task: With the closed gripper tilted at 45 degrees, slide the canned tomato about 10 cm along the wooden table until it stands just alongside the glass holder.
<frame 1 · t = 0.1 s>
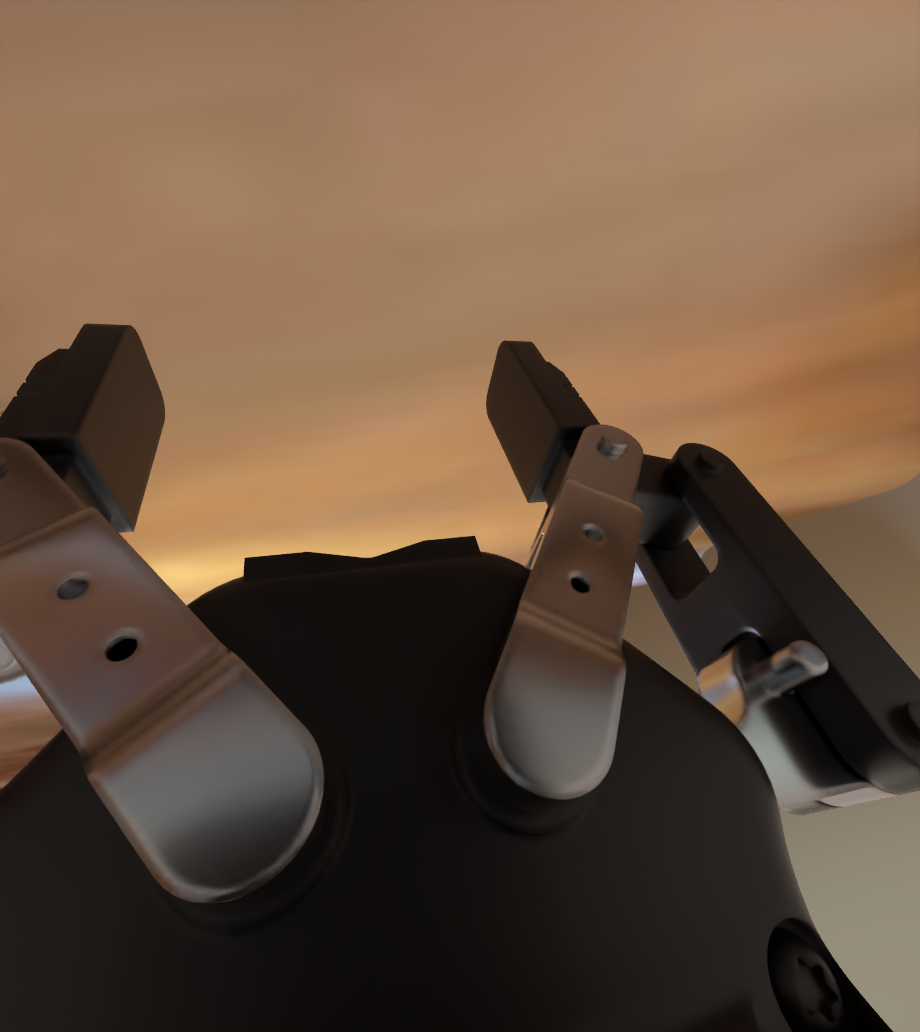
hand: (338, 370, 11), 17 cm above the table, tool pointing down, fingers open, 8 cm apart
canned tomato: (19, 512, 31), on the table
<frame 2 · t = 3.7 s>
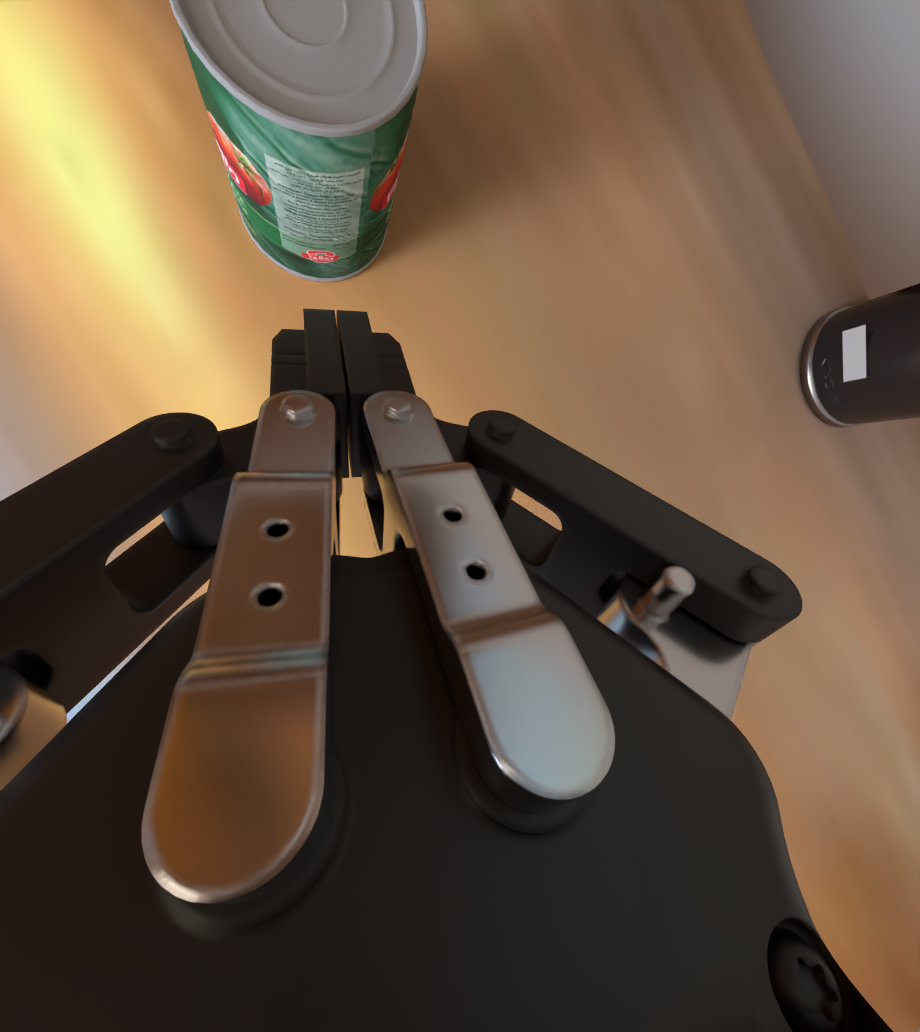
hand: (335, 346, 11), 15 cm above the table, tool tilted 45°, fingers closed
canned tomato: (315, 209, 24), on the table
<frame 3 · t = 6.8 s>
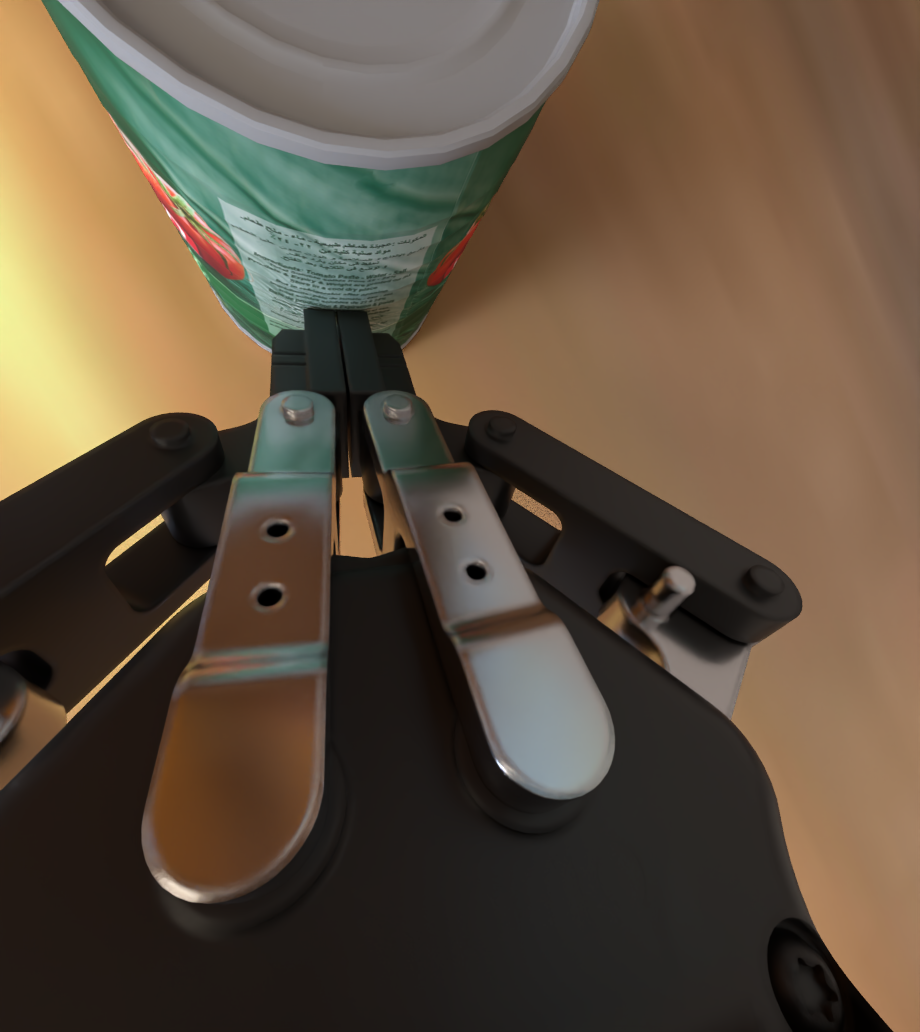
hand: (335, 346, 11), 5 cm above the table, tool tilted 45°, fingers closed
canned tomato: (325, 260, 16), on the table, touching gripper
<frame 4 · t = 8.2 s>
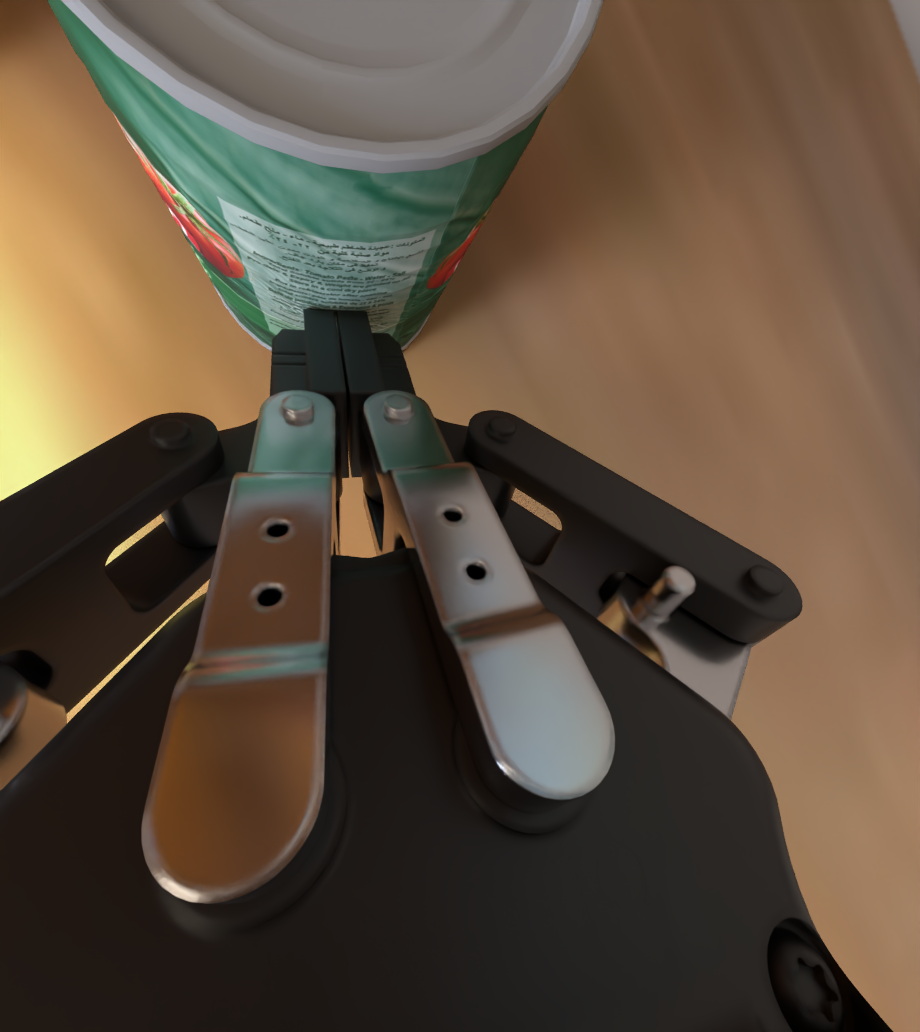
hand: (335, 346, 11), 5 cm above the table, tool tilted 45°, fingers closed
canned tomato: (328, 261, 16), on the table, touching gripper
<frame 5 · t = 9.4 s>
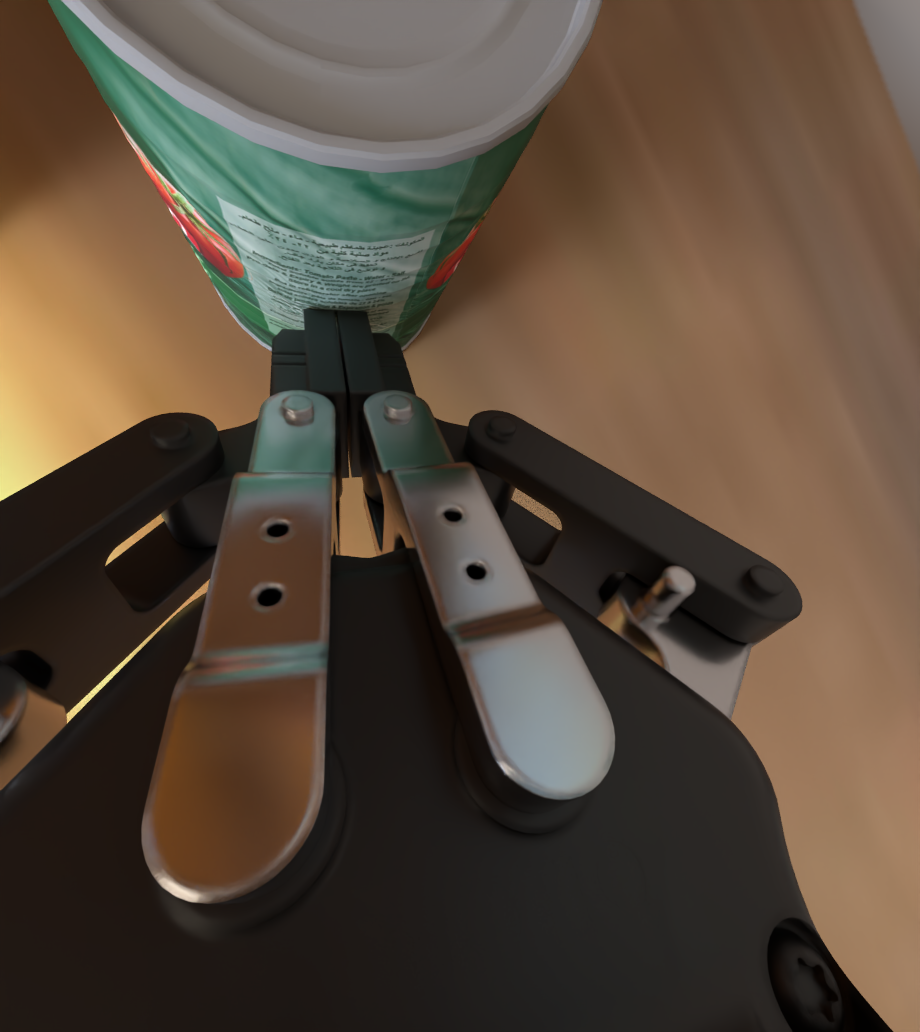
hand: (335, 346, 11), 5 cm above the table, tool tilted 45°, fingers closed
canned tomato: (328, 261, 16), on the table, touching gripper
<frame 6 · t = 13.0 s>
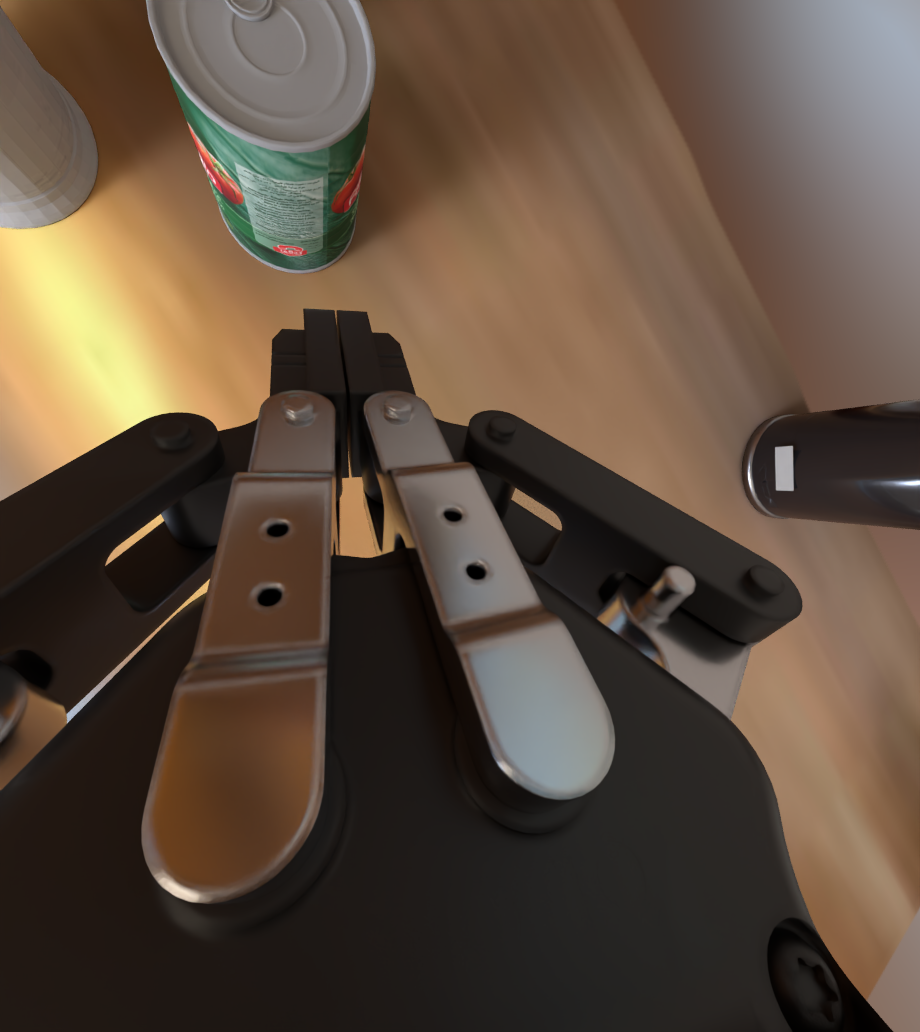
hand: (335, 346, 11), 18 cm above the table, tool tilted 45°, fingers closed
canned tomato: (289, 207, 27), on the table
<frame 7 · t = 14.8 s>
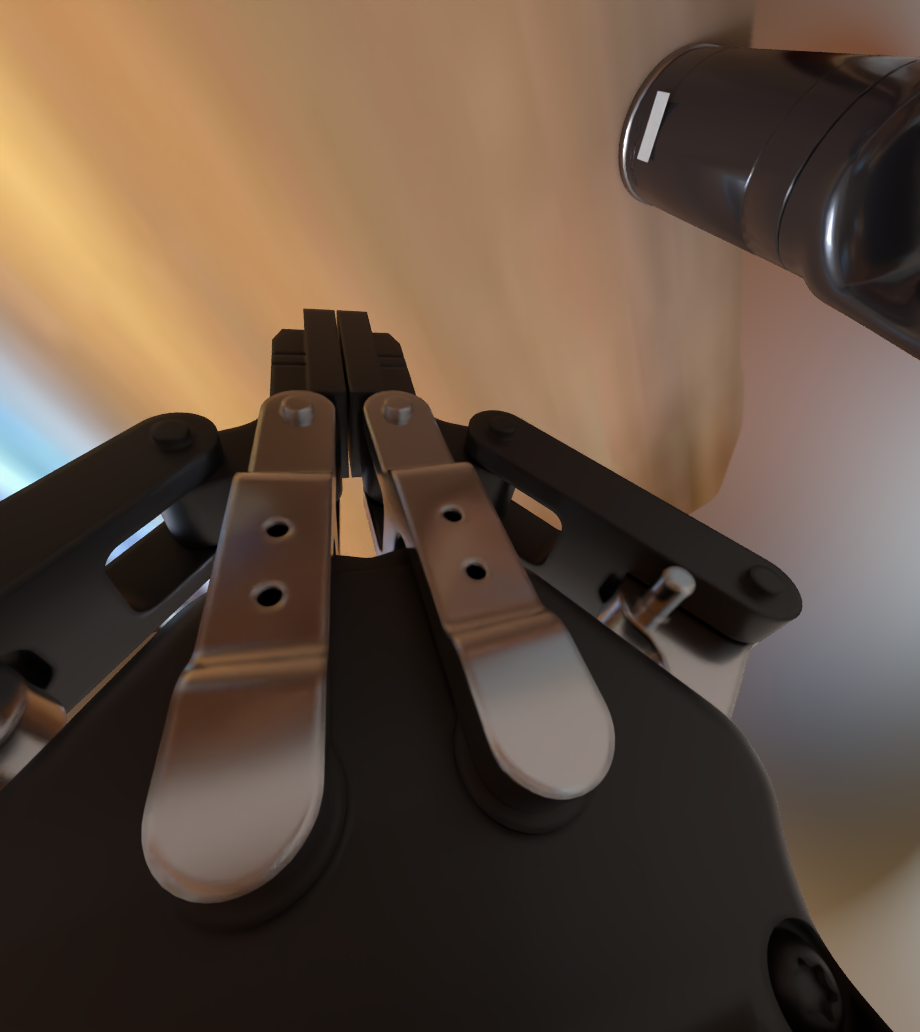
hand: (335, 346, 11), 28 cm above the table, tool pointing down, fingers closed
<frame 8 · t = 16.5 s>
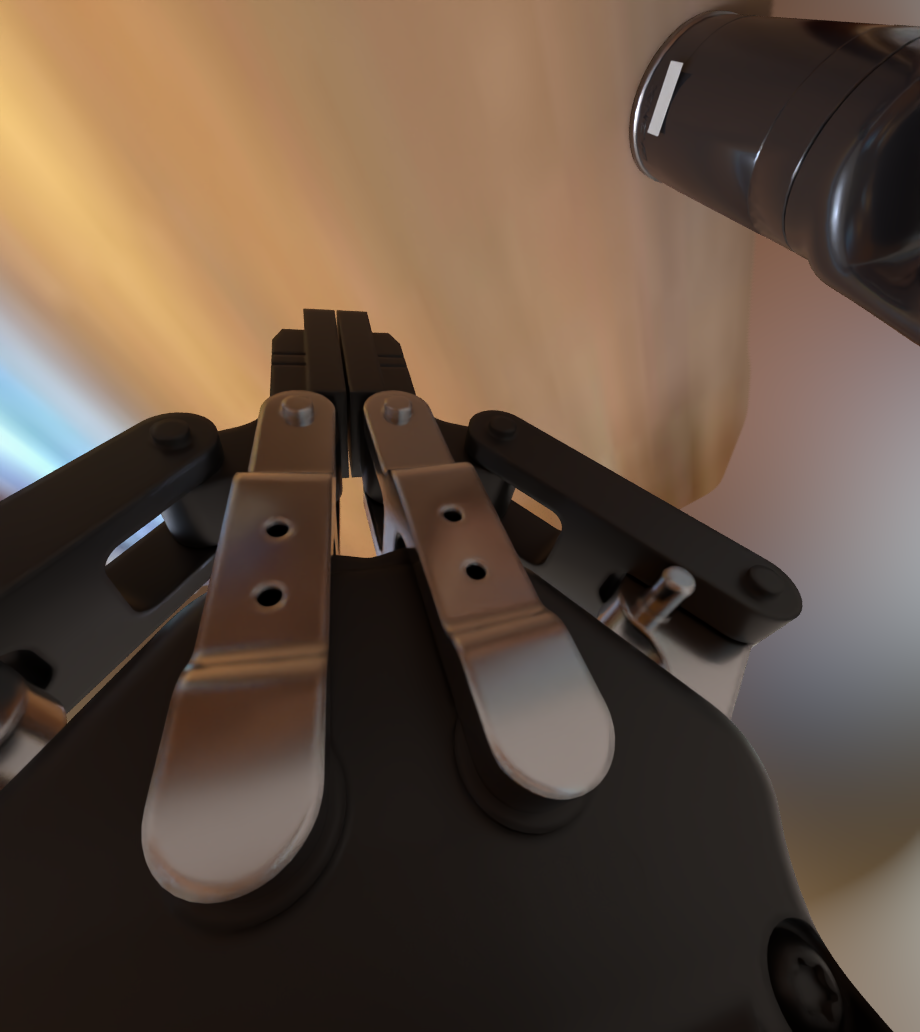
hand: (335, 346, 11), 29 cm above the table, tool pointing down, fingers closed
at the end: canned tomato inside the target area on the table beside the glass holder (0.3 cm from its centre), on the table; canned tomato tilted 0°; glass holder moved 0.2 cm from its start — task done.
